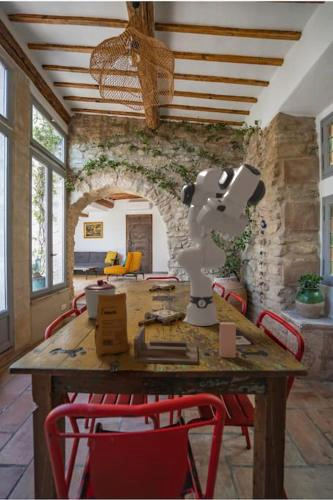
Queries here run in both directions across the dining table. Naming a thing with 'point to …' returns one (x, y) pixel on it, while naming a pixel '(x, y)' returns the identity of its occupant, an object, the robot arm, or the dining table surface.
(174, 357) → the rack
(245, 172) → the robot arm
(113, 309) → the coffee package
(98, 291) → the canister
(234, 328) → the tile
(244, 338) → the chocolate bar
